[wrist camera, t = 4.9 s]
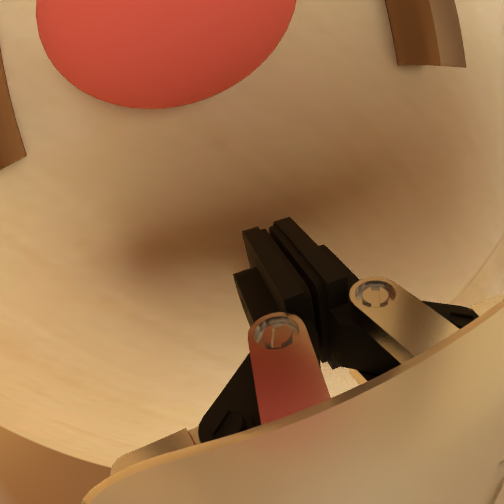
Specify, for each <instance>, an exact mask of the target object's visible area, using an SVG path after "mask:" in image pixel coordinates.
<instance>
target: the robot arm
mask: <svg viewBox="0 0 504 504" xmlns="http://www.w3.org/2000/svg"><path fill="white" fill-rule="evenodd" d="M269 232H270V234H269V233H268V232H267V230H266V229H263V230H260V229H259V227H255V228H252V229H248V230H245V231H242V235H243V239H244V243H245V247H246V251H247V255H248V259H249V263H250V267H251V268H250V269H247V270H244V271H241V272H238V273H235V274H233V276H234V280H235V284H236V287H237V291H238V294H239V297H240V300H241V303H242V306H243V309H244V312H245V314H246V317H247V320H248V322H249V324H250V330H249V332H248V344H249V350H250V353H249V354H248V356H247V357H246V358H245V360H244V361H243V363H242V364H241V366H240V367H239V368H238V370H237V371H236V373H235V374H234V375H233V377H232V378H231V380H230V381H229V382H228V384H227V385H226V387H225V388H224V389H223V391H222V392H221V393H220V395H219V396H218V398H217V399H216V400H215V402H214V403H213V404H212V406H211V407H210V408H209V410H208V411H207V412H206V414H205V415H204V416H203V418H202V420H201V422H200V424H199V426H198V427H195V428H193V429H191V430H189V431H188V430H187V429H186V428H185V429H182V430H180V431H178V432H176V433H174V434H172V435H169V436H167V437H165V438H163V439H161V440H158V441H156V442H154V443H151V444H149V445H147V446H144V447H142V448H139V449H137V450H135V451H132V452H130V453H127V454H125V455H123V456H121V457H120V458H118V459H117V460H116V462H115V463H114V464H113V466H112V469H111V472H110V475H111V476H110V477H108V478H107V479H105V480H103V481H102V482H101V483H99V484H98V485H96V486H95V487H94V488H93V489H92V490H90V491H89V492H88V493H87V495H86V496H85V497H84V498H83V500H82V502H81V504H504V294H502V295H500V296H497V297H494V298H491V299H489V300H486V301H483V302H480V303H477V304H474V305H471V306H470V309H469V308H467V307H463V306H457V305H449V304H441V303H434V302H426V301H420V300H419V299H418V298H416V297H415V296H413V295H412V294H411V293H409V292H408V291H406V290H405V289H403V288H402V287H401V286H399V285H398V284H396V283H395V282H393V281H391V280H389V279H386V278H382V277H370V278H365V279H362V280H359V279H358V278H357V277H356V276H355V275H354V274H353V273H352V272H351V271H350V270H349V269H348V268H347V267H346V266H345V265H344V264H343V263H342V262H341V261H340V260H339V259H338V258H337V257H336V256H335V255H334V254H333V253H332V252H331V251H330V250H329V249H328V248H327V247H326V246H325V245H320V246H318V245H317V244H316V243H315V242H314V241H313V240H312V239H311V238H310V237H309V236H308V235H307V234H306V233H305V232H304V231H303V230H302V229H301V228H300V227H299V226H298V225H297V224H296V223H295V222H294V221H293V220H292V219H291V218H290V217H288V218H284V219H281V220H278V221H274V223H273V226H272V227H269ZM320 360H321V362H322V363H324V362H327V361H328V363H329V365H330V366H331V368H332V370H333V369H335V368H338V367H340V366H341V367H346V368H349V370H350V373H351V375H352V377H353V378H354V379H355V380H356V381H357V382H358V383H359V384H360V385H359V386H357V387H355V388H353V389H351V390H348V391H346V392H344V393H342V394H340V395H337V396H335V397H333V398H330V395H329V392H328V389H327V386H326V383H325V380H324V377H323V375H322V372H321V367H320Z"/></svg>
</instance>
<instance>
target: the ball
mask: <svg viewBox="0 0 504 504" xmlns="http://www.w3.org/2000/svg"><path fill="white" fill-rule="evenodd" d="M295 3H296V0H37V2H36V19H37V26H38V31H39V37H40V39H41V42H42V44H43V47H44V49H45V51H46V54H47V56H48V57H49V59H50V60H51V62H52V63H53V65H54V66H55V67H56V69H57V70H58V71H59V72H60V73H61V74H62V75H63V76H64V77H65V78H66V79H67V80H68V81H69V82H70V83H72V84H73V85H74V86H76V87H77V88H78V89H80V90H82V91H83V92H85V93H87V94H89V95H91V96H93V97H95V98H97V99H100V100H103V101H106V102H109V103H112V104H115V105H119V106H125V107H130V108H147V109H156V108H169V107H176V106H182V105H186V104H190V103H194V102H197V101H200V100H203V99H206V98H209V97H211V96H214V95H216V94H218V93H220V92H222V91H224V90H226V89H228V88H229V87H231V86H233V85H235V84H236V83H238V82H239V81H241V80H242V79H244V78H245V77H247V76H248V75H249V74H251V73H252V72H253V71H254V70H255V69H256V68H257V67H259V66H260V65H261V64H262V63H263V62H264V61H265V60H266V58H267V57H268V56H269V55H270V54H271V53H272V52H273V50H274V49H275V48H276V46H277V45H278V43H279V41H280V40H281V38H282V37H283V35H284V33H285V32H286V30H287V28H288V25H289V23H290V20H291V18H292V15H293V12H294V10H295Z"/></svg>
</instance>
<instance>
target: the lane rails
mask: <svg viewBox="0 0 504 504" xmlns="http://www.w3.org/2000/svg"><path fill="white" fill-rule="evenodd" d="M385 1H386V6H387V10H388V14H389V19H390V24H391V28H392V33H393V39H394V44H395V50H396V56H397V62H398V65H434V66H452V67H465V68H466V62H465V55H464V48H463V41H462V35H461V30H460V25H459V20H458V15H457V10H456V6H455V2H454V0H385ZM25 156H26V153H25V150H24V147H23V143H22V140H21V137H20V134H19V130H18V127H17V123H16V120H15V116H14V112H13V108H12V104H11V100H10V96H9V92H8V88H7V83H6V78H5V73H4V68H3V63H2V57H1V51H0V170H1V169H3V168H5V167H6V166H8V165H10V164H12V163H14V162H16V161H17V160H19V159H21V158H23V157H25Z"/></svg>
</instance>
